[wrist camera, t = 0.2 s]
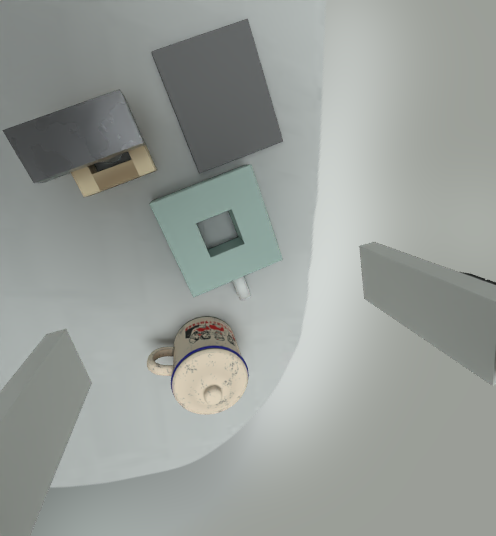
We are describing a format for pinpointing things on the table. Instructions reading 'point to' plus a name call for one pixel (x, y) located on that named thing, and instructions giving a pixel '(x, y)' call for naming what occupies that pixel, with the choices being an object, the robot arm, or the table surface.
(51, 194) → the table surface
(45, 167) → the block
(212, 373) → the teacup with lid
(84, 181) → the beige square frame
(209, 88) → the mat
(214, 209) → the block
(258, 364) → the table surface
